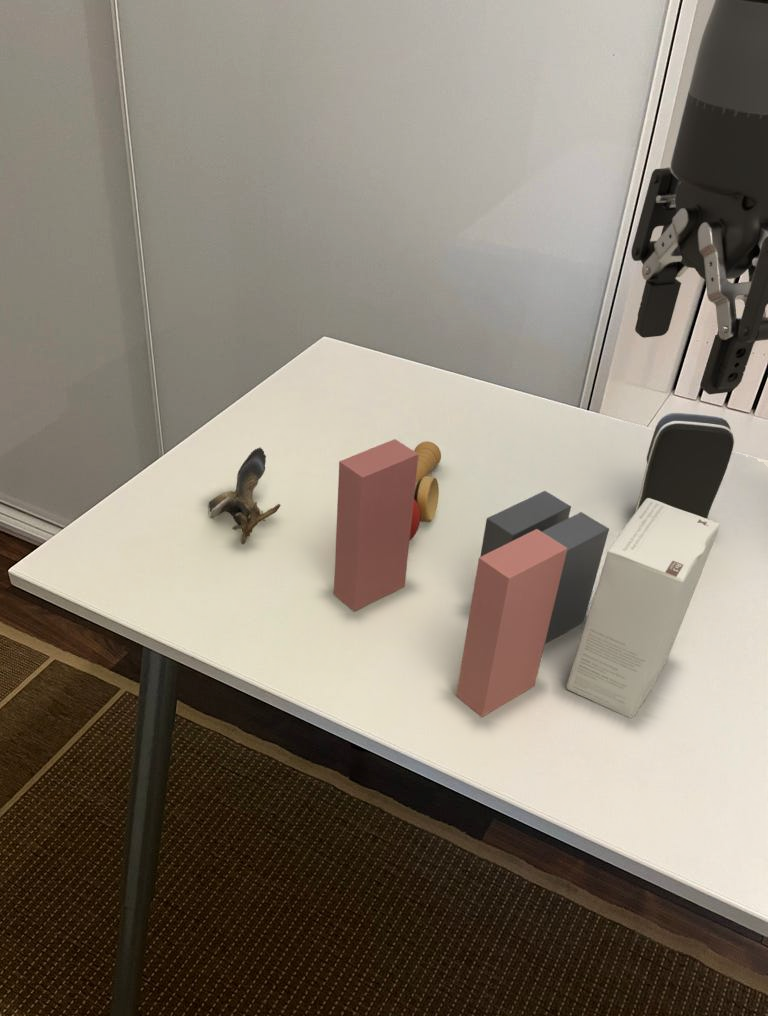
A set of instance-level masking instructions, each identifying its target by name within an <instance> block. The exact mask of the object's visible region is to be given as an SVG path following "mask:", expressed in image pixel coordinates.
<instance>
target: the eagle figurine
mask: <svg viewBox="0 0 768 1016" xmlns="http://www.w3.org/2000/svg"><path fill="white" fill-rule="evenodd" d="M266 458H267V455H266V454H265V451H264V449H263V448H262V447H261V446H259V447H257V448H255V449H254V450H252V451H251V452H250V454H249V455H248V456H247V457H246V459H245V460H244V461H243V463H242V465H241V466H240V468H239V469H238V472H237V475H236V487H235V490H229V491H224V492H222V493H220V494H219V495H217V496H215V497H214V498H212V499H211V500H210V501H208V507H209V518H210V519H215V518H217V517H219V516H220V515H222V514H224V513H228V514H229V515H230V517H232V518H233V521H234V523H236V524H235V525H234V526H231V529H232V530H233V531H237V530H241V540H240V543H241V544H242V545H244V544H245V543H246V540H247V539H248V537H250V536H251V533H252V532H253V530H254V528H256V526H258V524H259V523H260V522H262V521H267V519H266V518H268V517H270V516H272V515H274V514H276V513H277V512H278V510H279V509H280V507H281V504H280V503H277V504H276V505H275V506H274V507H271V508H269V509H268V510H266V511H265V512H264V511H263V510H262V508H261V509H260V507H258V502H257V501H254V499H253V498H254V497H253V496H254V495H253V493H254V490H255V488H256V487H257V486H258V484H259V481H260V479H261V478H262V477H263V476H264V473H265V472H266V462H267V461H266V460H267V459H266Z"/></svg>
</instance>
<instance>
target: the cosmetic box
mask: <svg viewBox="0 0 768 1016" xmlns="http://www.w3.org/2000/svg"><path fill="white" fill-rule="evenodd" d="M720 527H721V525H720V523H719V522H716V521H714V520H711V519H708V518H707V519H706V518H703V517H700V516H698V515H695V514H692V513H689V512H686V511H683V510H680V509H677V508H674V507H672V506H669V505H667V504H664V503H662V502H659V501H656V500H653V499H650V498H647V499H646V500H645V501H644V502H643V504H642V505H641V506H640V508H639V509H638V510H637V511H636V513H635V514H634V513H633V515H632V516H631V518H630V519H629V520H628V521H627V523H626V524H625V526H624V527H623V528H622V530H621V531H620V532H619V534H618V535H617V537H616V538H615V539H614V541H613V542H612V543H611V545H610V547H609V548H608V550H607V551H606V556H605V559H604V563H603V565H602V569H601V572H600V575H599V578H598V579H599V580H598V583H597V586H596V590H595V593H594V596H593V598H592V602H591V603H590V607H589V611H588V614H587V617H586V620H585V624H584V628H583V630H582V633H581V637H580V641H579V643H578V647H577V648H576V653H575V657H574V660H573V663H572V666H571V669H570V673H569V677H568V679H567V683H566V689H567V690H568V691H570V692H572V693H575V694H576V695H579V696H581V697H583V698H585V699H588V700H590V701H593V702H595V703H597V704H599V705H601V706H603V707H605V708H608V709H609V710H611V711H614V712H616V713H618V714H620V715H622V716H624V717H627V718H630V719H632V718H634V717H635V715H636V714H637V712H638V711H639V709H640V708H641V706H642V704H643V703H644V701H645V699H646V698H647V696H648V695H649V693H650V692H651V690H652V688H653V686H654V684H655V683H656V681H657V679H658V677H659V675H660V673H661V671H662V670H663V667H664V666H665V665H666V663H667V661H668V659H669V656H670V653H671V651H672V649H673V646H674V645H675V641H676V639H677V636H678V633H679V631H680V629H681V626H682V623H683V621H684V618H685V616H686V614H687V611H688V609H689V606H690V603H691V601H692V599H693V596H694V593H695V591H696V589H697V586H698V583H699V580H700V578H701V576H702V572H703V570H704V567H705V565H706V562H707V560H708V558H709V555H710V553H711V550H712V548H713V545H714V542H715V539H716V537H717V534H718V532H719V529H720Z"/></svg>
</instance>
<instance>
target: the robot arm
mask: <svg viewBox="0 0 768 1016" xmlns="http://www.w3.org/2000/svg"><path fill="white" fill-rule="evenodd" d="M658 227H662V230H661V233H660V236H659V237H658V239H657V240H652V236H653V232H654V231H655V229H656V228H658ZM633 239H634V240H633V242H632V247H631V251H630V252H631V254H630V255H631V259H632V260H633V261H634V262H639V261H640V262H641V264H642V267H641V276H642V278H643V279H644V280H645V283H644V287H643V292H642V296H641V301H640V303H639V304H640V305H639V308H638V312H637V320H636V323H635V328H634V331H635V332H636V333H637V334H638V335H639V336H640V337H641V338H644V339H647V338H654V337H662V336H664V335H666V334H667V333H668V331H669V329H670V326H671V322H672V319H673V315H674V312H675V308H676V304H677V300H678V298H679V297H678V296H679V293H680V289H681V285H682V282H681V281H679V280H678V279H677V278H680V277H682V276H683V274H684V273H686V272H687V270H688V269H689V268H690V269H694V270H695V271H696V272H697V274H698V275H699V277H700V278H702V279H703V280H705V286H706V296H707V298H708V301H709V302H711V303H712V304H714V306H715V313H716V323H717V333H718V334H715V335H714V338H713V342H712V345H711V347H710V351H709V354H708V358H707V361H706V365H705V367H704V371H703V374H702V377H701V380H700V385H699V386H700V388H701V390H702V391H704V392H705V393H706V394H708V395H716V394H726V393H730V392H733V391H734V390H736V388H738V386H739V385H740V384H741V383H742V380H743V377H744V374H745V371H746V368H747V366H748V363H749V359H750V356H751V354H752V350H753V348H754V345H755V343H756V342H761V341H767V340H768V316H767V313H766V312H767V311H766V308H767V306H768V0H714V3H713V6H712V8H711V11H710V14H709V17H708V19H707V21H706V25H705V27H704V30H703V33H702V35H701V39H700V43H699V47H698V50H697V55H696V59H695V63H694V67H693V71H692V75H691V79H690V83H689V87H688V91H687V95H686V99H685V104H684V107H683V111H682V116H681V119H680V124H679V128H678V132H677V135H676V140H675V144H674V149H673V152H672V157H671V160H670V167H663V168H655V169H653V171H652V173H651V175H650V179H649V183H648V185H647V191H646V194H645V197H644V201H643V205H642V210H641V213H640V217H639V220H638V224H637V228H636V232H635V235H634V238H633ZM746 271H747V272H748V281H744V282H730V281H729V280H732V279H733V280H734V279H737V278H739V277H741V276H743V274H745V273H746ZM736 300H742V301H743V303H744V307H743V311H742V315H741V316H740V317H737V308H736V306H737V305H736Z"/></svg>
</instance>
